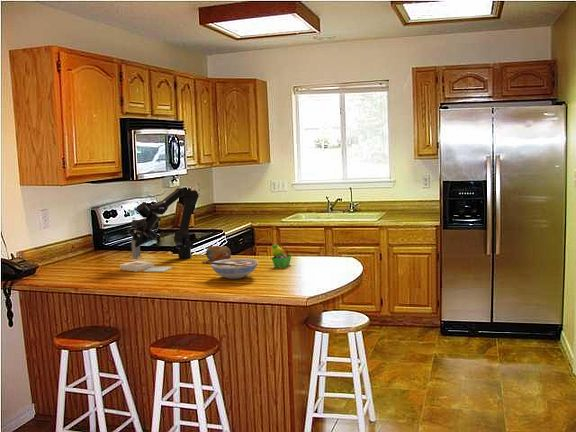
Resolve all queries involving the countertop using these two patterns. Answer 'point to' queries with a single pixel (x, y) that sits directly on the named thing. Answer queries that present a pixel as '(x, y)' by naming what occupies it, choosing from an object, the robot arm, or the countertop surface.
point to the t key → (135, 250)
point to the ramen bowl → (233, 267)
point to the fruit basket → (280, 257)
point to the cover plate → (136, 266)
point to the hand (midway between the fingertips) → (133, 246)
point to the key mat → (158, 269)
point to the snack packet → (218, 253)
